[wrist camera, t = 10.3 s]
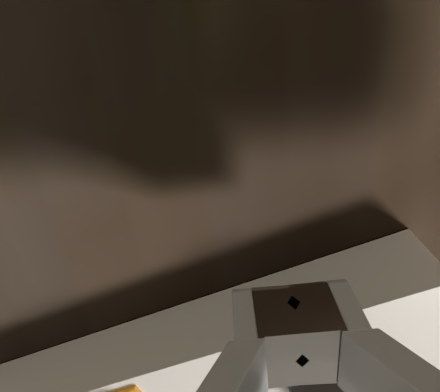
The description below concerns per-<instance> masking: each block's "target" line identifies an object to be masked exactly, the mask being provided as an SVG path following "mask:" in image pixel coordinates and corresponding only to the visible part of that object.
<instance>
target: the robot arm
mask: <svg viewBox="0 0 440 392" xmlns="http://www.w3.org/2000/svg"><path fill="white" fill-rule="evenodd" d="M232 306H233V323H234V339H235V341H229V342H228V343H227V345H226V346H225V348H224V349H223V351H222V352H221V354H220V355H219V357H218V359H217V360H216V362H215V363H214V365H213V366H212V368H211V369H210V371H209V372H208V374H207V375H206V377H205V379H204V380H203V382H202V383H201V385H200V386H199V388H198V389H197V391H196V392H268V391H269V389H271V388H280V387H289V386H298V385H312V384H331V383H338V384H337V385H338V386H339V387H340V388H341V389H342V390H343V392H440V370H439V369H437V368H436V367H435V366H433V365H432V364H430V363H429V362H427V361H426V360H424V359H423V358H421V357H420V356H418V355H417V354H416V353H414V352H413V351H411V350H410V349H408V348H407V347H405V346H404V345H402V344H401V343H399V342H398V341H397V340H395V339H394V338H392V337H391V336H389V335H388V334H386V333H385V332H383V331H382V330H380V329H379V328H373V329H372V327H371V325H370V323H369V321H368V320H367V318H366V316H365V314H364V312H363V310H362V308H361V306H360V304H359V302H358V300H357V298H356V296H355V295H354V293H353V291H352V289H351V287H350V285H349V283H348V281H347V280H345V279H338V280H329V281H321V282H311V283H301V284H291V285H281V286H267V287H252V288H244V289H232Z"/></svg>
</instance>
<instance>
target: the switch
mask: <svg viewBox="0 0 440 392" xmlns="http://www.w3.org/2000/svg"><path fill="white" fill-rule="evenodd" d="M337 384H338V383H331V384H312V385H298V386H291V390H292V392H343V390H342V389H341V388H340V387H339V386H338V385H337Z"/></svg>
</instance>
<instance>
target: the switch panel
mask: <svg viewBox="0 0 440 392" xmlns="http://www.w3.org/2000/svg"><path fill="white" fill-rule="evenodd" d="M338 279H345V280H347V281H348V283H349V285H350V287H351V289H352V291H353V293H354V295H355V296H356V298H357V300H358V302H359V304H360V306H361V308H362V310H363V312H364V314H365V316H366V318H367V320H368V321H369V323H370V325H371V327H372V329H373V328H379V329H380V330H382V331H383V332H385V333H386V334H388V335H389V336H391V337H392V338H394V339H395V340H397V341H398V342H399V343H401V344H402V345H404V346H405V347H407V348H408V349H410V350H411V351H413V352H414V353H416V354H417V355H418V356H420V357H421V358H423V359H424V360H426V361H427V362H429V363H430V364H432V365H433V366H435V367H436V368H437V369H439V370H440V262H439V261H438V260H437V259H436V258H435V256H434V255H433V254H432V253H431V252H430V251H429V250H428V249H427V248H426V247H425V246H424V245H423V244H422V243H421V242H420V240H419V239H418V238H417V237H416V236H415V235H414V234H413V233H412V232H411V231H410V230H409V229H406V230H403V231H400V232H397V233H394V234H391V235H388V236H385V237H382V238H379V239H376V240H373V241H370V242H367V243H364V244H361V245H358V246H355V247H352V248H349V249H346V250H343V251H340V252H337V253H334V254H331V255H328V256H325V257H322V258H319V259H316V260H313V261H310V262H307V263H304V264H301V265H298V266H295V267H292V268H289V269H286V270H283V271H280V272H277V273H274V274H271V275H268V276H265V277H262V278H259V279H256V280H253V281H250V282H247V283H244V284H241V285H238V286H235V287H232V288H229V289H226V290H223V291H220V292H217V293H214V294H211V295H208V296H205V297H201V298H198V299H195V300H192V301H189V302H186V303H183V304H180V305H177V306H174V307H171V308H168V309H165V310H162V311H159V312H156V313H153V314H150V315H147V316H144V317H141V318H138V319H135V320H132V321H129V322H126V323H123V324H120V325H117V326H114V327H111V328H108V329H105V330H102V331H99V332H96V333H93V334H90V335H87V336H84V337H81V338H78V339H75V340H72V341H69V342H66V343H63V344H60V345H57V346H54V347H51V348H48V349H45V350H42V351H39V352H36V353H33V354H30V355H27V356H24V357H21V358H18V359H15V360H12V361H9V362H6V363H3V364H0V392H196V391H197V389H198V388H199V386H200V385H201V383H202V382H203V380H204V379H205V377H206V375H207V374H208V372H209V371H210V369H211V368H212V366H213V365H214V363H215V362H216V360H217V359H218V357H219V355H220V354H221V352H222V351H223V349H224V348H225V346H226V345H227V343H228V342H229V341H235V339H234V323H233V306H232V289H244V288H252V287H267V286H281V285H291V284H301V283H311V282H321V281H329V280H338ZM268 392H292V390H291V386H289V387H280V388H271V389H269V391H268Z"/></svg>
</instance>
